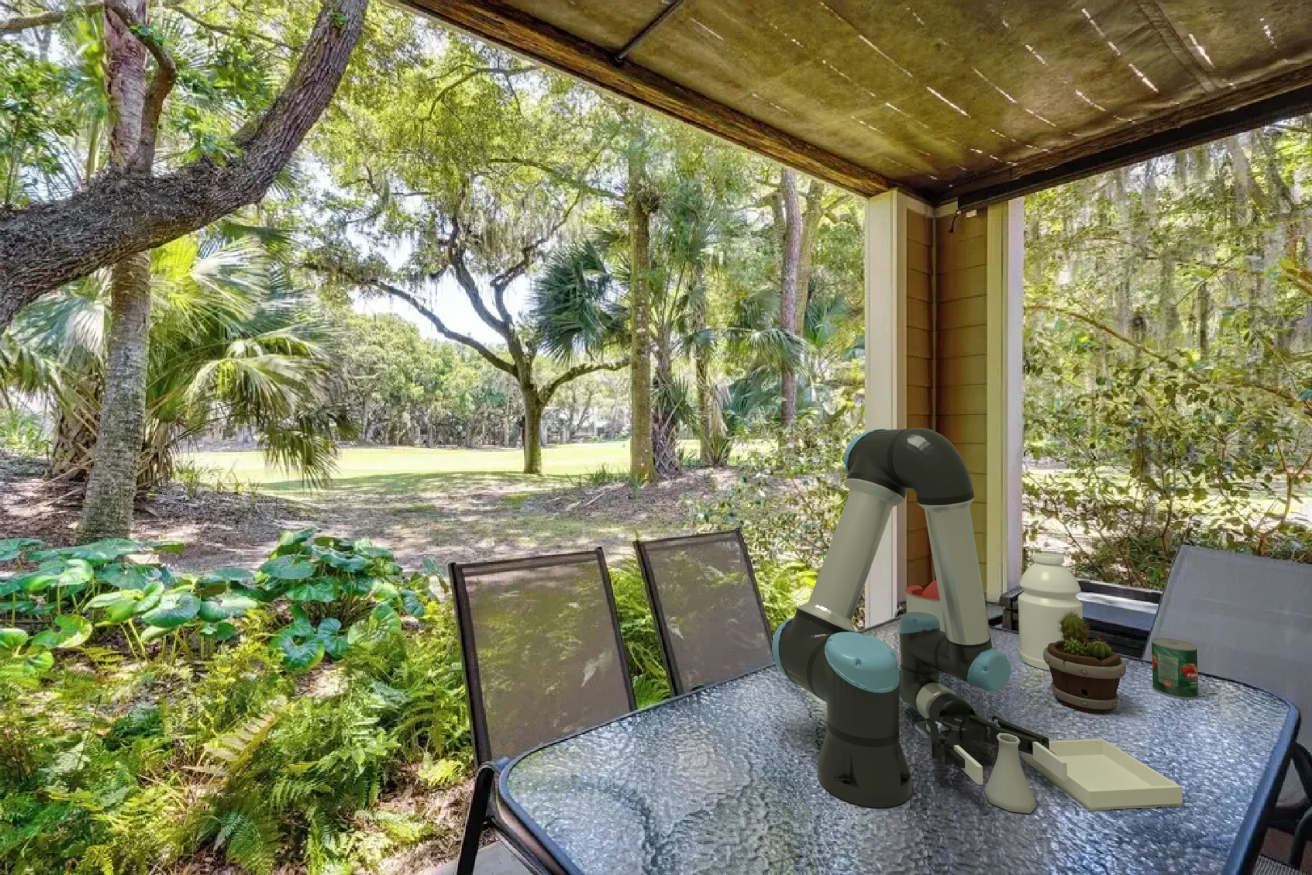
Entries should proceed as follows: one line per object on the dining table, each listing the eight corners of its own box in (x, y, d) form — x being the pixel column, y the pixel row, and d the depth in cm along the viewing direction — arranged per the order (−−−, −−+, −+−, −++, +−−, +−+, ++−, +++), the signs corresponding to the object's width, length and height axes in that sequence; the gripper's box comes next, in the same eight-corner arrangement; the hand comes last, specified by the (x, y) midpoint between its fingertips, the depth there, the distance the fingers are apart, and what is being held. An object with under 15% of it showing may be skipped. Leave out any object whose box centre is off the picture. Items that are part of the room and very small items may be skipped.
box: (1089, 811, 90) (1089, 791, 90) (1022, 758, 105) (1022, 742, 106) (1182, 806, 91) (1181, 787, 91) (1102, 755, 106) (1102, 738, 106)
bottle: (1006, 657, 155) (1004, 552, 156) (1042, 650, 160) (1040, 548, 161) (1059, 677, 142) (1057, 561, 142) (1097, 668, 147) (1094, 557, 147)
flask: (1037, 820, 88) (1035, 753, 88) (982, 805, 92) (981, 741, 92) (1035, 795, 94) (1034, 733, 95) (984, 782, 98) (983, 723, 98)
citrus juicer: (958, 644, 166) (957, 573, 167) (977, 666, 149) (976, 588, 150) (900, 640, 170) (899, 571, 170) (912, 662, 153) (910, 585, 153)
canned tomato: (1203, 702, 127) (1201, 651, 128) (1156, 694, 132) (1154, 645, 132) (1193, 689, 134) (1192, 641, 134) (1149, 682, 138) (1148, 635, 139)
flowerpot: (1145, 721, 119) (1142, 623, 119) (1061, 715, 122) (1058, 619, 122) (1105, 692, 133) (1103, 604, 133) (1031, 687, 136) (1029, 601, 136)
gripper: (1009, 728, 112) (1100, 794, 91) (883, 733, 111) (945, 801, 89) (1008, 689, 112) (1098, 745, 91) (882, 694, 111) (944, 752, 90)
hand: (1022, 773), depth 90 cm, fingers open, 13 cm apart
